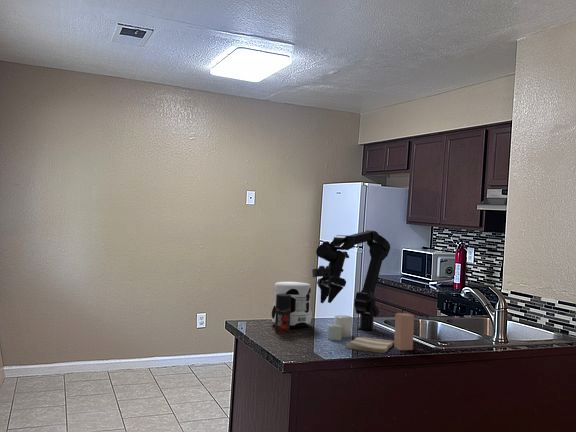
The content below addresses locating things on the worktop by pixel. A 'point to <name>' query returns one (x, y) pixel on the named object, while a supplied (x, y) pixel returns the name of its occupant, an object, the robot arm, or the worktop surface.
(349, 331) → the pale grey cylinder
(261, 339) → the worktop surface
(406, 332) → the tan rectangular block
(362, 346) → the board
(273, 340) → the worktop surface
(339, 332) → the block
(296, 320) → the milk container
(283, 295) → the deodorant
